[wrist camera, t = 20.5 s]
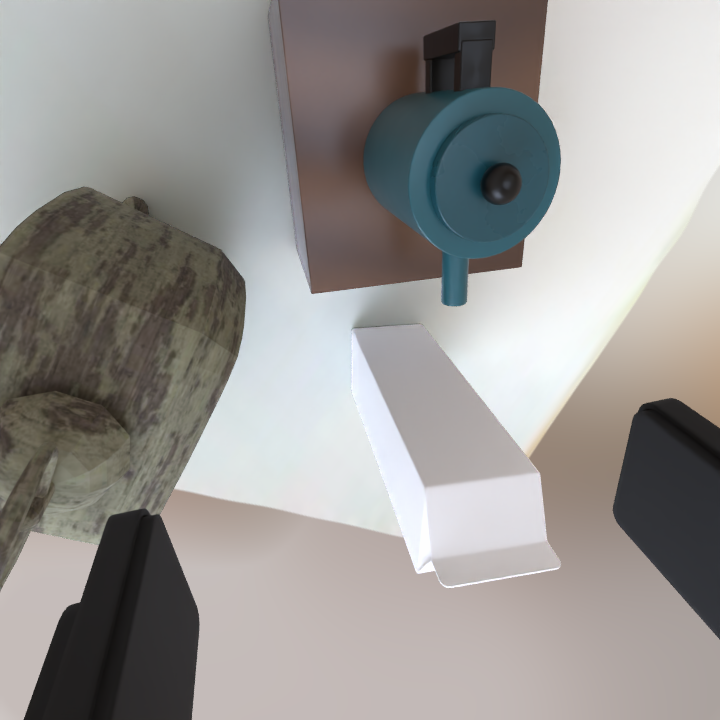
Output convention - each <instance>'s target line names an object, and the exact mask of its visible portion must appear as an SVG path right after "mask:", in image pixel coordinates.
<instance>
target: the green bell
mask: <svg viewBox="0 0 720 720" xmlns="http://www.w3.org/2000/svg"><path fill="white" fill-rule="evenodd" d="M245 304H246V292H245V281H244V279H243V278H242V276H241V275H240V274H239V272H238V271H237V270H236V269H235V267H234V266H233V265H232V263H231V262H230V261H229V259H228V258H227V257H226V256H225V254H224V253H223V252H222V250H220V249H218V248H216V247H214V246H212V245H210V244H208V243H206V242H204V241H201V240H199V239H197V238H195V237H193V236H191V235H189V234H187V233H185V232H182V231H180V230H178V229H176V228H174V227H172V226H170V225H168V224H166V223H163V222H161V221H159V220H157V219H155V218H153V217H151V216H149V215H148V206H147V205H146V203H145V202H144V201H143V200H142V199H140V198H137V197H130V198H126V199H125V201H124V202H123V203H121V202H119V201H117V200H115V199H113V198H111V197H109V196H106V195H104V194H102V193H100V192H98V191H96V190H94V189H92V188H89V187H81V188H78V189H74V190H71V191H67V192H64V193H63V194H61V195H59V196H58V197H56V198H55V199H53V200H52V201H50V202H49V203H47V204H45V205H44V206H42V207H41V208H39V209H38V210H36V211H35V212H34V213H33V214H31V215H30V216H29V217H28V218H26V219H25V220H24V221H23V222H22V223H21V224H20V225H19V226H17V227H16V228H15V229H14V231H13V232H12V233H11V234H10V235H9V236H8V237H7V239H6V240H5V241H4V242H3V243H2V244H1V245H0V591H1V588H2V587H3V584H4V583H5V581H6V579H7V577H8V575H9V574H10V572H11V570H12V568H13V566H14V565H15V563H16V561H17V559H18V557H19V555H20V553H21V550H22V548H23V546H24V544H25V542H26V540H27V538H28V536H29V533H30V531H34V532H39V533H43V534H48V535H53V536H58V537H62V538H67V539H72V540H76V541H81V542H86V543H91V544H95V545H99V543H100V540H101V537H102V534H103V531H104V528H105V525H106V522H107V520H108V518H109V517H110V516H111V515H114V514H119V513H124V512H128V511H133V510H138V509H143V508H146V509H147V510H148V511H149V513H150V515H155V514H159V515H160V514H161V512H162V510H163V508H164V506H165V504H166V502H167V500H168V499H169V497H170V495H171V493H172V491H173V489H174V487H175V485H176V483H177V482H178V480H179V478H180V476H181V474H182V472H183V470H184V468H185V466H186V464H187V463H188V461H189V459H190V457H191V455H192V453H193V451H194V449H195V447H196V445H197V443H198V441H199V439H200V437H201V434H202V432H203V430H204V428H205V426H206V424H207V422H208V420H209V418H210V416H211V414H212V412H213V410H214V408H215V406H216V404H217V402H218V400H219V398H220V396H221V394H222V392H223V390H224V387H225V385H226V383H227V381H228V379H229V376H230V374H231V371H232V369H233V367H234V364H235V362H236V359H237V357H238V353H239V348H240V344H241V340H242V334H243V328H244V318H245Z"/></svg>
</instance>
